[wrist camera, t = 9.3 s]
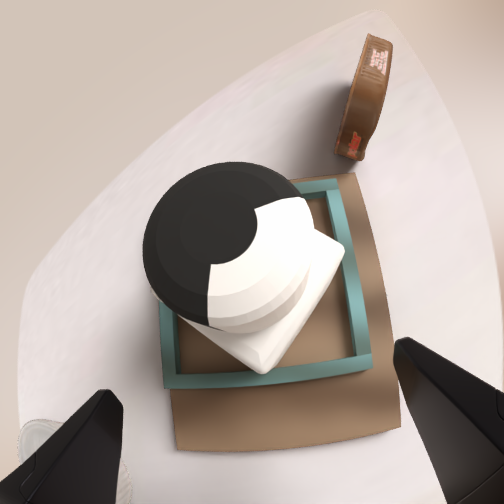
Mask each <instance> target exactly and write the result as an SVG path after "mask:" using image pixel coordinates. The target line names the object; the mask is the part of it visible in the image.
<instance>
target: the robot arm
mask: <svg viewBox="0 0 504 504" xmlns="http://www.w3.org/2000/svg"><path fill="white" fill-rule="evenodd" d="M393 365H394V368H395V371H396V374H397V377H398V380H399V383H400V386H401V389H402V392H403V395H404V398H405V401H406V404H407V407H408V409H409V412H410V414H411V416H412V418H413V420H414V423H415V425H416V427H417V429H418V432H419V434H420V436H421V439H422V441H423V443H424V446H425V448H426V450H427V453H428V455H429V458H430V460H431V462H432V465H433V467H434V470H435V472H436V475H437V478H438V480H439V483H440V485H441V488H442V491H443V493H444V496H445V499H446V502H447V504H504V393H503V392H501V391H500V390H498V389H495V388H494V387H493V386H491V385H489V384H488V383H486V382H484V381H483V380H481V379H479V378H478V377H476V376H474V375H473V374H471V373H469V372H468V371H466V370H464V369H463V368H461V367H459V366H457V365H456V364H454V363H452V362H451V361H449V360H447V359H446V358H444V357H442V356H441V355H439V354H437V353H436V352H434V351H432V350H430V349H429V348H427V347H425V346H424V345H422V344H420V343H419V342H417V341H415V340H413V339H412V338H410V337H404V338H401V339H398V340H396V341H395V344H394V353H393ZM122 429H123V405H122V403H121V402H120V401H119V400H118V398H117V397H116V396H115V395H114V393H113V392H112V391H111V390H109V389H100V390H98V391H97V392H96V393H95V394H94V395H93V396H92V397H91V398H90V399H89V400H88V401H87V402H86V403H84V404H83V405H82V406H81V407H80V408H79V409H78V410H77V411H76V412H75V413H74V414H73V415H72V416H71V417H70V418H69V419H68V420H67V421H66V422H65V423H64V424H63V425H62V426H61V427H60V428H59V429H58V430H57V431H56V432H55V433H54V434H53V435H51V436H50V437H49V438H48V439H47V440H46V441H45V442H44V443H43V444H42V445H41V446H40V447H39V448H38V449H37V450H36V451H35V452H34V453H33V454H32V455H31V456H30V457H29V458H28V459H27V460H26V461H25V462H24V463H23V464H21V465H20V466H19V467H18V468H17V469H16V470H14V471H13V472H12V473H11V474H9V475H8V476H7V477H6V478H5V479H3V480H2V481H1V482H0V504H116V495H117V484H118V474H119V466H120V458H121V449H122Z"/></svg>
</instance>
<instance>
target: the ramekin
mask: <svg viewBox="0 0 504 504" xmlns="http://www.w3.org/2000/svg"><path fill="white" fill-rule="evenodd" d="M63 424H64V423H61V422H54V421H51V420H46V419H37V420H32V421H29V422H27V423H26V424H25V425H24V426H23V428H22V429H21V431H20V434H19V438H18V457H19V462H20V465H21V464H23V463H24V462H25V461H26V460H27V459H28V458H29V457H30V456H31V455H32V454H33V453H34V452H35V451H36V450H37V449H38V448H39V447H40V446H41V445H42V444H43V443H44V442H45V441H46V440H47V439H48V438H49V437H50V436H51V435H53V434H54V433H55V432H56V431H57V430H58V429H59V428H60V427H61V426H62V425H63ZM131 496H132V484H131V479H130V476H129V473H128V471H127V468H126V466H125V464H124V462H123V460H122V459H121V458H120V466H119V474H118V484H117V495H116V504H129V503H130V501H131Z"/></svg>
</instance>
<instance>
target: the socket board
mask: <svg viewBox="0 0 504 504" xmlns="http://www.w3.org/2000/svg"><path fill="white" fill-rule="evenodd" d="M289 181H290V182H291V183H292V184H293V185H294V186H295V187H296V188H297V189H298V191H299V192H300V193H301V195H302V196H303V198H304V199H305V201H306V203H307V205H308V207H309V209H310V213H311V216H312V219H313V224H314V229H316V230H317V231H319V232H321V233H323V234H324V235H326V236H328V237H330V238H331V239H333V240H335V241H336V242H338V243H340V244H341V245H342V246H343V247H344V250H345V253H344V256H343V258H342V260H341V262H340V264H339V266H338V268H337V270H336V272H335V274H334V276H333V278H332V280H331V282H330V284H329V286H328V288H327V289H326V291H325V293H324V294H323V296H322V298H321V299H320V301H319V302H318V304H317V306H316V307H315V309H314V310H313V312H312V313H311V315H310V317H309V318H308V320H307V321H306V323H305V324H304V326H303V327H302V329H301V330H300V332H299V333H298V335H297V336H296V338H295V339H294V341H293V342H292V344H291V345H290V347H289V348H288V350H287V351H286V353H285V354H284V355H283V357H282V358H281V360H280V361H279V363H278V364H277V365H276V366H275V367H274V368H272V369H271V370H270V371H269V372H267V373H266V374H259V373H257V372H255V371H254V370H252V369H251V368H249V367H248V366H247V365H245V364H244V363H242V362H241V361H239V360H238V359H236V358H235V357H234V356H232V355H231V354H229V353H228V352H227V351H225V350H224V349H222V348H221V347H220V346H218V345H217V344H216V343H214V342H213V341H211V340H210V339H209V338H207V337H206V336H205V335H203V334H202V333H201V332H199V331H198V330H197V329H196V328H194V327H193V326H192V325H190V324H189V323H188V322H186V321H185V320H184V319H183V318H181V317H180V316H179V315H178V314H176V313H174V312H173V311H172V310H171V309H169V308H168V307H167V306H166V305H165V304H164V303H163V302H161V301H160V300H159V317H160V339H161V356H162V369H163V381H164V388H167V389H170V394H171V403H172V412H173V421H174V428H175V436H176V443H177V450H188V451H214V452H238V451H263V450H278V449H289V448H298V447H306V446H314V445H321V444H327V443H333V442H339V441H344V440H350V439H355V438H359V437H364V436H368V435H372V434H377V433H381V432H385V431H388V430H392V429H396V428H399V427H401V414H400V398H399V385H398V377H397V374H396V371H395V368H394V365H393V353H394V340H393V333H392V327H391V320H390V314H389V308H388V303H387V297H386V292H385V287H384V282H383V277H382V272H381V267H380V263H379V258H378V254H377V250H376V245H375V241H374V237H373V233H372V229H371V226H370V222H369V218H368V214H367V211H366V207H365V204H364V200H363V197H362V194H361V190H360V187H359V184H358V181H357V177H356V174H355V173H345V174H335V175H326V176H317V177H309V178H301V179H293V180H289Z"/></svg>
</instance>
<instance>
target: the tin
mask: <svg viewBox="0 0 504 504" xmlns="http://www.w3.org/2000/svg"><path fill="white" fill-rule="evenodd" d="M392 50H393V45H392V43H391V42H389V41H387V40H384V39H381V38H378V37H375V36H372V35H371V34H369V33H368V35H367V38H366V41H365V44H364V47H363V51H362V54H361V57H360V60H359V63H358V67H357V69H356V73H355V76H354V79H353V82H352V86H351V89H350V93H349V97H348V100H347V103H346V107H345V110H344V114H343V118H342V121H341V125H340V129H339V133H338V137H337V141H336V144H335V150H334V154H340V155H342V156H345V157H348V158H351V159H354V160H357V161H362V160H363V159H364V156H365V149H366V147H367V144H368V142H369V139H370V138H371V136H372V135H373V133H374V131H375V129H376V126H377V123H378V120H379V117H380V114H381V111H382V107H383V103H384V99H385V95H386V90H387V85H388V80H389V74H390V67H391V60H392Z"/></svg>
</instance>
